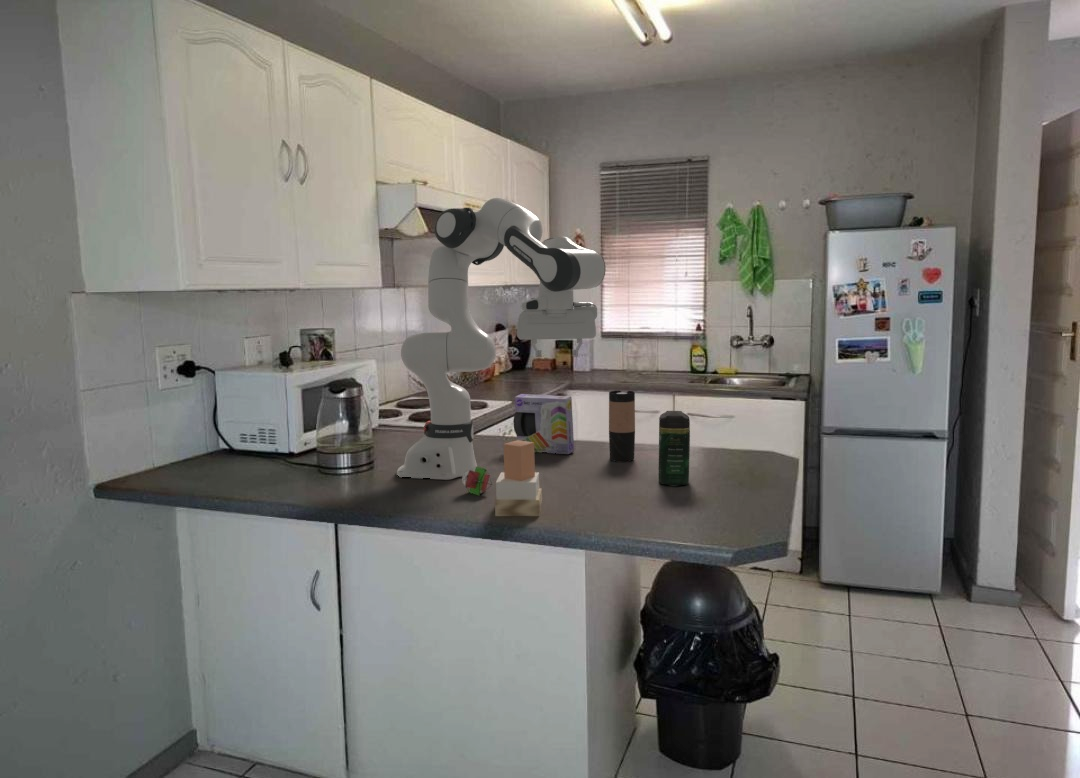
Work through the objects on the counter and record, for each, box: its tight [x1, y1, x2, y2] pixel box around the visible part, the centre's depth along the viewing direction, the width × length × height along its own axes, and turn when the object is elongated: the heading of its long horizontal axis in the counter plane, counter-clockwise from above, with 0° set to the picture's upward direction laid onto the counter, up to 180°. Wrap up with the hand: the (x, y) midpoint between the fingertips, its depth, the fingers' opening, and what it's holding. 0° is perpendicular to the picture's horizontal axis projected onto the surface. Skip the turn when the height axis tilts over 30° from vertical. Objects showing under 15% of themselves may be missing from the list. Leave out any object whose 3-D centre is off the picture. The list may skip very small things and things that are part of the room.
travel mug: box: [608, 390, 636, 462], centre depth 223 cm, size 8×8×20 cm
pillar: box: [503, 439, 536, 481], centre depth 175 cm, size 5×5×8 cm
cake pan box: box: [512, 393, 575, 455], centre depth 235 cm, size 19×5×18 cm, turn 61°
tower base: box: [494, 487, 543, 517], centre depth 176 cm, size 10×10×4 cm
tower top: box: [495, 471, 540, 500], centre depth 176 cm, size 9×9×4 cm
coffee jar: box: [658, 410, 691, 487], centre depth 197 cm, size 10×8×19 cm
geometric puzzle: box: [461, 466, 493, 497], centre depth 190 cm, size 7×7×8 cm
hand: (557, 356), depth 195 cm, fingers open, 8 cm apart
